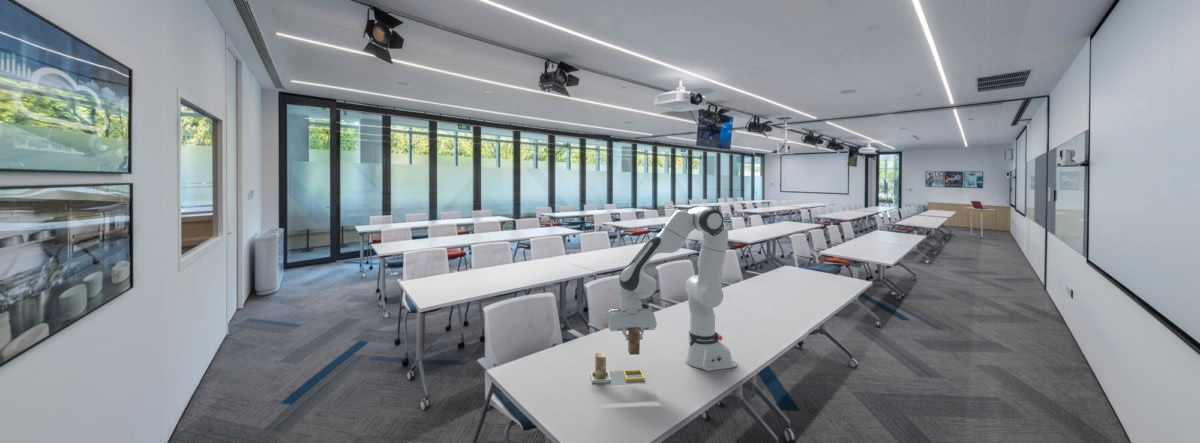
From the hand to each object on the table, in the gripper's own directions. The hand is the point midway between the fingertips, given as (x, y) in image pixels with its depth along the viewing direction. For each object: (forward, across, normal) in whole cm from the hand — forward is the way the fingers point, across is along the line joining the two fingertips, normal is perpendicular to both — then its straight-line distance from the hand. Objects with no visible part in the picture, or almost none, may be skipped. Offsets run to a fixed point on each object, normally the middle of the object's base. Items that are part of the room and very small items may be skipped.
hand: (634, 339), depth 179 cm
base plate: (+12, -7, +13) cm, 19 cm away
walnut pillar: (+4, 0, +5) cm, 6 cm away
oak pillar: (+11, -14, +12) cm, 22 cm away
